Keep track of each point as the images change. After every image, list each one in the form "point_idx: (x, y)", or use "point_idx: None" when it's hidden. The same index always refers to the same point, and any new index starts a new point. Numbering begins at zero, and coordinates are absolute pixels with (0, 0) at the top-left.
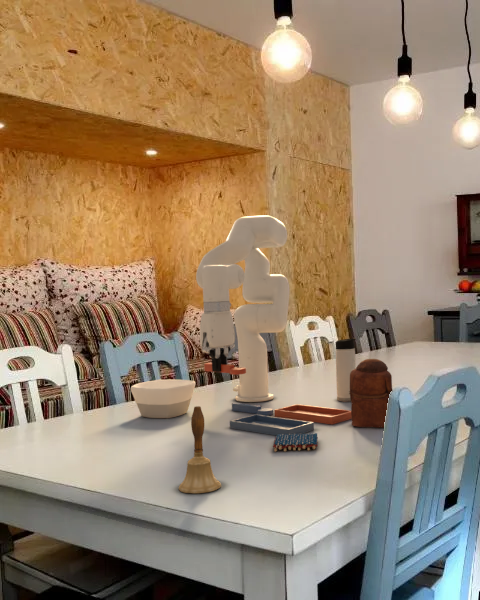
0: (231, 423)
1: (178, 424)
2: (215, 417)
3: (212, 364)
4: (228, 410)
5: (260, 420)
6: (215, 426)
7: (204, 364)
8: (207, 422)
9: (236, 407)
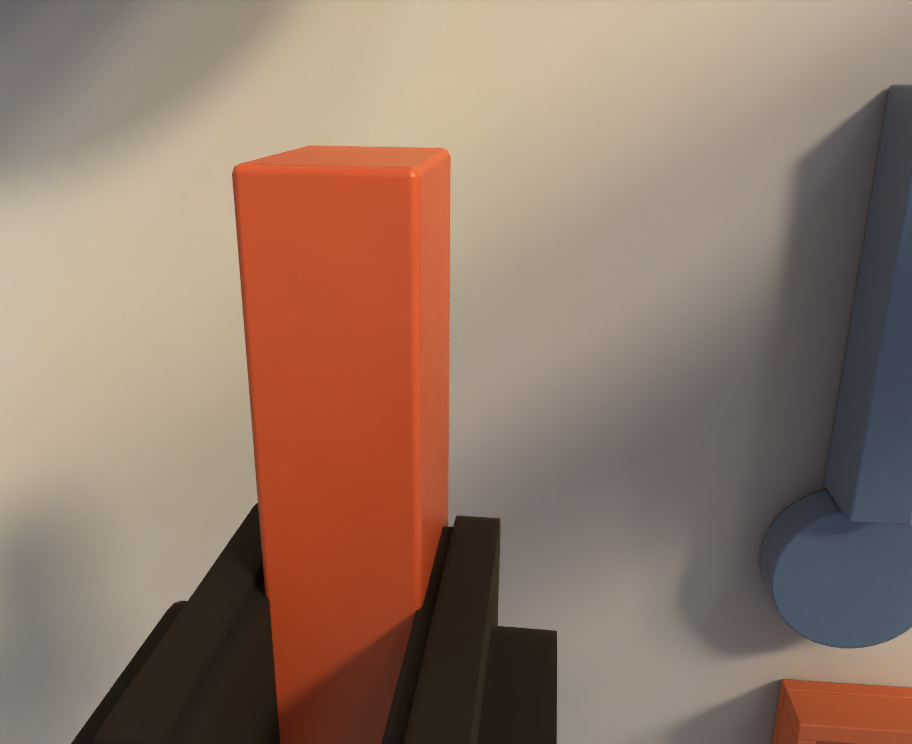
0: None
1: (36, 139)
2: (479, 216)
3: (135, 673)
4: (878, 36)
5: None
6: (205, 504)
7: (240, 175)
8: None
9: (892, 173)
